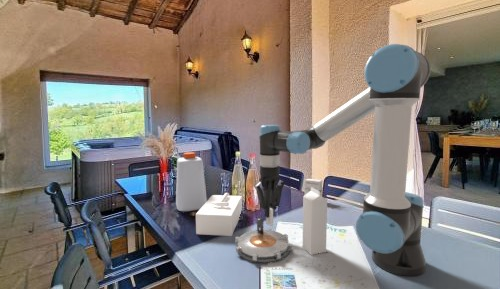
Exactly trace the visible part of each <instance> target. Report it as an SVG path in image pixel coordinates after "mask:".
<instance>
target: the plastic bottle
mask: <svg viewBox="0 0 500 289" xmlns="http://www.w3.org/2000/svg"><path fill="white" fill-rule="evenodd" d="M205 180H206V179H205V168H204V162H203V159H202V158H201V157H199V156H196V152H192V151H191V152H190V151H189V152H188V151H187V152H183V157H179V158H177V160H176V187H175V188H176V189H175V190H176V191H175V193H176V194H175V206H176V209H177V210H178V211H179V212H191V211H192V212H193V211H199V210H200V209H201V207H202V206H203V205H204V204H205V203H206V202H207V201H208V198H207V190H206V189H207V188H206V181H205Z"/></svg>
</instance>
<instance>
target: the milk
mask: <svg viewBox="0 0 500 289" xmlns="http://www.w3.org/2000/svg"><path fill="white" fill-rule="evenodd" d="M327 222H328V199H327V198H324V196H322V197H321V196H320V191H318V190H316V189H314V188H313V187H311V191H310V192H309V193H307V194H306V195H305V194H304V195H303V197H302V247H304V248H305V249H306V250H307V251H308V252H307V251H306V250H305V249H304V248H303V249H304V250H305V251H306V252H307V253H308V254H309V255H310V256H313V255H318V253H319V254H323V253H322V252H325V253H326V252H327V227H328V226H327V224H328V223H327Z"/></svg>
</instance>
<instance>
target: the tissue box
mask: <svg viewBox="0 0 500 289" xmlns="http://www.w3.org/2000/svg"><path fill="white" fill-rule="evenodd" d="M242 201H243V195H230V193H229V192H224V194H223V195H221V194H212V195H211V196H210V197H209V198H208V199H207V202H206V203H205V204H204V205H203V206H202V207H201V209H200V210H197V212H196V213H195V233H196V235H204V236H206V235H207V236H208V235H209V236H226V237H227V236H228V237H232V236H233V233H234V231H235V230H236V227H237V225H238V223H239V221H240V218H241V216H240V214H241V210H242V211H243V202H242ZM241 215H242V214H241ZM239 217H240V218H239Z"/></svg>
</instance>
